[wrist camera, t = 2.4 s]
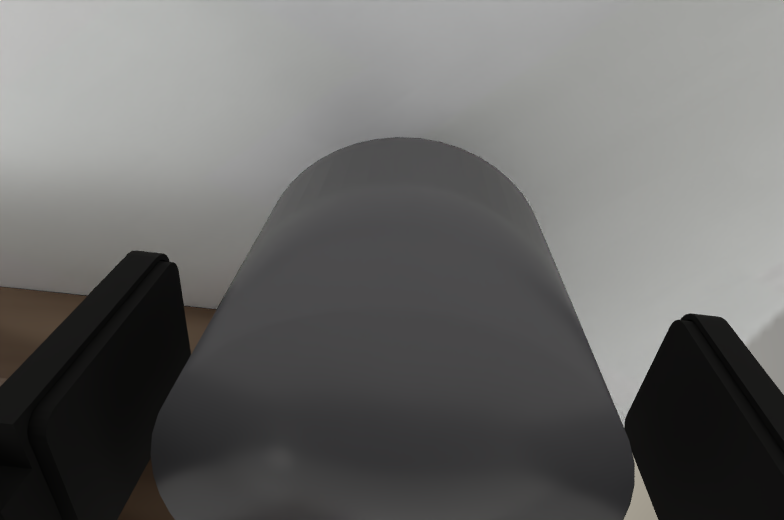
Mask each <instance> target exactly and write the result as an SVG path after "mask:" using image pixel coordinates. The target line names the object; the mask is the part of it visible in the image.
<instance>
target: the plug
mask: <svg viewBox="0 0 784 520" xmlns="http://www.w3.org/2000/svg"><path fill="white" fill-rule="evenodd" d="M150 455H151V462H152V470H153V476H154V479H155V482H156V485H157V488H158V491H159V494H160V496H161V498H162V499H163V501H164V503H165V505H166V507H167V509H168V511H169V512H170V514H171V515H172V516H173V518H174V519H175V520H623V519H624V517H625V515H626V512H627V510H628V508H629V506H630V502H631V498H632V493H633V489H634V460H633V455H632V450H631V445H630V441H629V439H628V436H627V434H626V432H625V429H624V427H623V424H622V422H621V420H620V417H619V415H618V413H617V410H616V408H615V405H614V403H613V401H612V398H611V396H610V393H609V391H608V389H607V386H606V384H605V381H604V379H603V377H602V374H601V372H600V370H599V367H598V365H597V362H596V360H595V358H594V355H593V353H592V350H591V348H590V346H589V343H588V341H587V338H586V336H585V334H584V331H583V329H582V327H581V324H580V322H579V319H578V317H577V315H576V312H575V310H574V307H573V305H572V303H571V300H570V298H569V295H568V293H567V291H566V288H565V286H564V284H563V281H562V279H561V276H560V274H559V272H558V269H557V267H556V264H555V262H554V260H553V257H552V255H551V252H550V250H549V248H548V245H547V243H546V241H545V238H544V236H543V233H542V231H541V229H540V226H539V224H538V222H537V219H536V217H535V215H534V213H533V210H532V208H531V207H530V205H529V204H528V202H527V201H526V199H525V197H524V196H523V194H522V193H521V192H520V191H519V190H518V189H517V187H516V186H515V185H514V184H513V183H512V182H511V181H510V180H509V179H508V178H507V177H506V176H505V175H504V174H502V173H501V172H500V171H499V170H498V169H497V168H495V167H494V166H492V165H491V164H489V163H488V162H486V161H484V160H483V159H481V158H480V157H478V156H476V155H474V154H472V153H469V152H467V151H465V150H463V149H461V148H458V147H455V146H452V145H448V144H445V143H442V142H438V141H432V140H426V139H421V138H403V137H395V138H383V139H375V140H370V141H365V142H361V143H356V144H353V145H351V146H348V147H345V148H342V149H340V150H337V151H335V152H333V153H331V154H329V155H327V156H325V157H324V158H322V159H320V160H318V161H317V162H316V163H314V164H313V165H311V166H310V167H309V168H307V169H306V170H304V171H303V172H302V173H301V174H300V175H299V176H298V177H297V178H296V179H295V180H294V181H293V182H292V183H291V184H290V185H289V187H288V188H287V189H286V190H285V192H284V193H283V194H282V196H281V197H280V199H279V200H278V202H277V204H276V206H275V207H274V209H273V211H272V213H271V214H270V216H269V218H268V220H267V222H266V223H265V225H264V227H263V229H262V230H261V232H260V234H259V236H258V237H257V239H256V241H255V243H254V245H253V246H252V248H251V250H250V252H249V253H248V255H247V257H246V259H245V260H244V262H243V264H242V266H241V267H240V269H239V271H238V273H237V275H236V276H235V278H234V280H233V282H232V283H231V285H230V287H229V289H228V290H227V292H226V294H225V296H224V298H223V299H222V301H221V303H220V305H219V306H218V308H217V310H216V312H215V313H214V315H213V317H212V319H211V320H210V322H209V324H208V326H207V328H206V329H205V331H204V333H203V335H202V336H201V338H200V340H199V342H198V343H197V345H196V347H195V349H194V350H193V352H192V354H191V356H190V358H189V359H188V361H187V363H186V365H185V366H184V368H183V370H182V372H181V373H180V375H179V377H178V379H177V381H176V382H175V384H174V386H173V388H172V389H171V391H170V393H169V395H168V397H167V398H166V400H165V402H164V404H163V406H162V408H161V409H160V411H159V413H158V416H157V419H156V423H155V426H154V429H153V433H152V441H151V454H150Z"/></svg>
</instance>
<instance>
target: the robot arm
mask: <svg viewBox="0 0 784 520" xmlns="http://www.w3.org/2000/svg"><path fill="white" fill-rule="evenodd" d="M190 356H191V350H190V343H189V337H188V330H187V324H186V317H185V311H184V304H183V298H182V291H181V284H180V278H179V271H178V267H177V265H176V264H175V263H172V262H169V259H168V257H167V255H165V254H161V253H152V252H144V251H131V252H130V253H128V254H127V255H126V256H125V257H124V259H123V260H122V261H121V262H120V263H119V264H118V265H117V266H116V267H115V268H114V269H113V270H112V271H111V272H110V273H109V274H108V275H107V276H106V277H105V278H104V279H103V280H102V281H101V282H100V283H99V285H98V286H97V287H96V288H95V289H94V290H93V291H92V292H91V293H90V294H89V295H88V296H87V297H86V298H85V299H84V300H83V301H82V302H81V303H80V304H79V305H78V306H77V307H76V308H75V309H74V310H73V312H72V313H71V314H70V315H69V316H68V317H67V318H66V319H65V320H64V321H63V322H62V323H61V324H60V325H59V326H58V327H57V328H56V329H55V330H54V331H53V332H52V333H51V334H50V335H49V336H48V338H47V339H46V340H45V341H44V342H43V343H42V344H41V345H40V346H39V347H38V348H37V349H36V350H35V351H34V352H33V353H32V354H31V355H30V356H29V357H28V358H27V359H26V360H25V361H24V362H23V363H22V365H21V366H20V367H19V368H18V369H17V370H16V371H15V372H14V373H13V374H12V375H11V376H10V377H9V378H8V379H7V380H6V381H5V382H4V383H3V384H2V385H1V386H0V520H117V519H118V517H119V515H120V514H121V512H122V510H123V508H124V506H125V504H126V503H127V501H128V499H129V497H130V495H131V493H132V491H133V490H134V488H135V486H136V484H137V482H138V480H139V478H140V477H141V475H142V473H143V471H144V469H145V467H146V466H147V464H148V462H149V460H150V458H151V455H150V454H151V441H152V433H153V429H154V426H155V423H156V419H157V416H158V413H159V411H160V409H161V408H162V406H163V404H164V402H165V400H166V398H167V397H168V395H169V393H170V391H171V389H172V388H173V386H174V384H175V382H176V381H177V379H178V377H179V375H180V373H181V372H182V370H183V368H184V366H185V365H186V363H187V361H188V359H189V358H190ZM625 432H626V434H627V436H628V439H629V441H630V445H631V450H632V453H633V456H634V458H635V461H636V463H637V466H638V469H639V471H640V474H641V476H642V479H643V481H644V484H645V486H646V489H647V491H648V494H649V497H650V499H651V502H652V504H653V507H654V510H655V512H656V515H657V517H658V519H659V520H784V395H783V394H782V392H781V391H780V390H779V389H778V387H777V386H776V385H775V383H774V382H773V381H772V380H771V378H770V377H769V376H768V374H767V373H766V372H765V371H764V369H763V368H762V367H761V366H760V364H759V363H758V361H757V360H756V359H755V358H754V356H753V355H752V354H751V352H750V351H749V350H748V348H747V347H746V346H745V344H744V343H743V342H742V341H741V339H740V338H739V337H738V335H737V334H736V333H735V332H734V330H733V329H732V328H731V326H730V325H729V324H728V322H727V321H726V320H724V319H723V318H721V317H716V316H708V315H699V314H686V315H685V316H683V317H682V318H681V320H675V321H674V322H673V323H672V324H671V326H670V328H669V330H668V332H667V334H666V336H665V338H664V340H663V342H662V344H661V346H660V348H659V350H658V352H657V354H656V356H655V358H654V361H653V363H652V365H651V367H650V369H649V371H648V373H647V375H646V377H645V379H644V381H643V383H642V385H641V387H640V389H639V391H638V393H637V395H636V397H635V399H634V401H633V404H632V406H631V408H630V410H629V412H628V414H627V416H626V419H625Z"/></svg>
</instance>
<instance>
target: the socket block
mask: <svg viewBox="0 0 784 520" xmlns="http://www.w3.org/2000/svg"><path fill="white" fill-rule="evenodd" d="M86 297H87V296H82V295H73V294H63V293H54V292H44V291H35V290H25V289H16V288H6V287H0V386H1V385H2V384H3V383H4V382H5V381H6V380H7V379H8V378H9V377H10V376H11V375H12V374H13V373H14V372H15V371H16V370H17V369H18V368H19V367H20V366H21V365H22V363H23V362H24V361H25V360H26V359H27V358H28V357H29V356H30V355H31V354H32V353H33V352H34V351H35V350H36V349H37V348H38V347H39V346H40V345H41V344H42V343H43V342H44V341H45V340H46V339H47V338H48V336H49V335H50V334H51V333H52V332H53V331H54V330H55V329H56V328H57V327H58V326H59V325H60V324H61V323H62V322H63V321H64V320H65V319H66V318H67V317H68V316H69V315H70V314H71V313H72V312H73V310H74V309H75V308H76V307H77V306H78V305H79V304H80V303H81V302H82V301H83V300H84V299H85V298H86ZM184 311H185V317H186V324H187V330H188V337H189V343H190V350H191V354H192V352H193V350H194V349H195V347H196V345H197V343H198V342H199V340H200V338H201V336H202V335H203V333H204V331H205V329H206V328H207V326H208V324H209V322H210V320H211V319H212V317H213V315H214V313H215V312H216V309H206V308H197V307H187V306H184ZM117 520H175V519H174V518H173V516H172V515H171V514H170V512H169V511H168V509H167V507H166V505H165V503H164V501H163V499H162V498H161V496H160V494H159V491H158V488H157V485H156V482H155V479H154V476H153V470H152V462H151V458H150V460H149V462H148V464H147V466H146V467H145V469H144V471H143V473H142V475H141V477H140V478H139V480H138V482H137V484H136V486H135V488H134V490H133V491H132V493H131V495H130V497H129V499H128V501H127V503H126V504H125V506H124V508H123V510H122V512H121V514H120V515H119V517H118V519H117Z"/></svg>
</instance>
